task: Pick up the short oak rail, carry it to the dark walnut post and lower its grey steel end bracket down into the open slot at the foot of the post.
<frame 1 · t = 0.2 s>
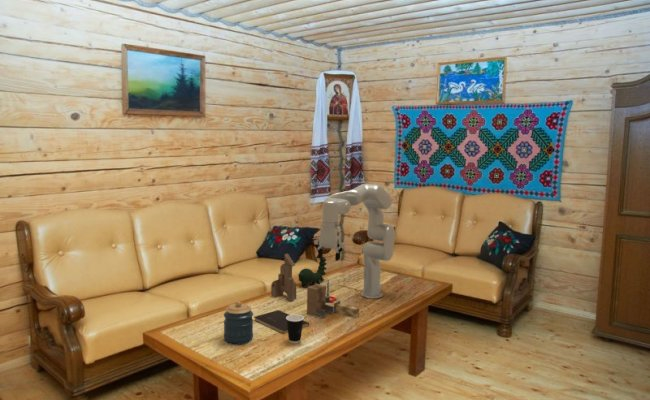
hand: (328, 258, 249), 30 cm above the table, tool pointing down, fingers open, 9 cm apart
hardcover book: (281, 324, 245), on the table
bed rail: (347, 314, 258), on the table
headboard post: (316, 312, 259), on the table
wooden toy: (284, 297, 283), on the table
tow hook: (328, 300, 281), on the table
canister: (238, 339, 224), on the table
toy figurine: (311, 285, 308), on the table
dixie cup: (294, 341, 223), on the table
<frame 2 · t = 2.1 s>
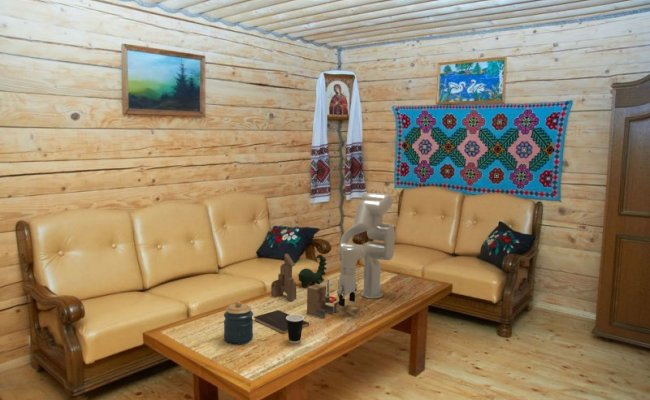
hand: (346, 303, 256), 6 cm above the table, tool pointing down, fingers open, 9 cm apart
nothing on the table moved.
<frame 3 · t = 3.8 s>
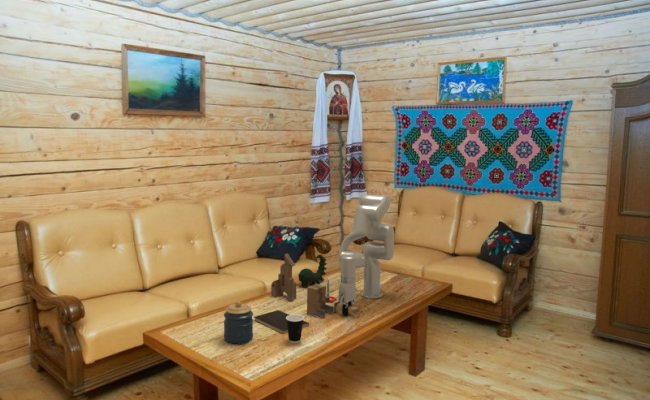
hand: (347, 313, 258), 0 cm above the table, tool pointing down, fingers closed on bed rail, 3 cm apart
bed rail: (347, 314, 258), on the table, touching gripper
everything else where it was.
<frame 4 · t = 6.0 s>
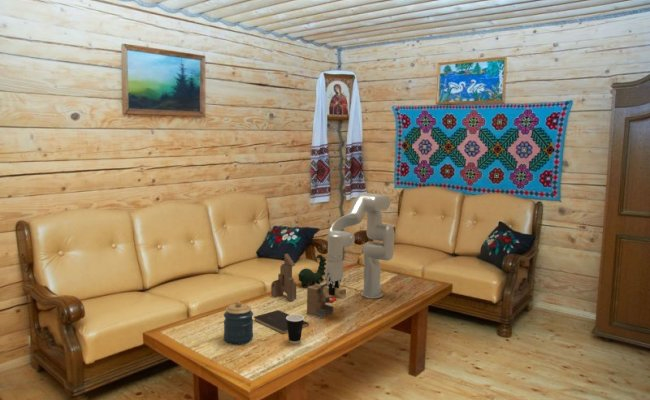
hand: (333, 293, 251), 13 cm above the table, tool pointing down, fingers closed on bed rail, 3 cm apart
bed rail: (334, 296, 251), point 11 cm above the table, touching gripper
everything else where it was.
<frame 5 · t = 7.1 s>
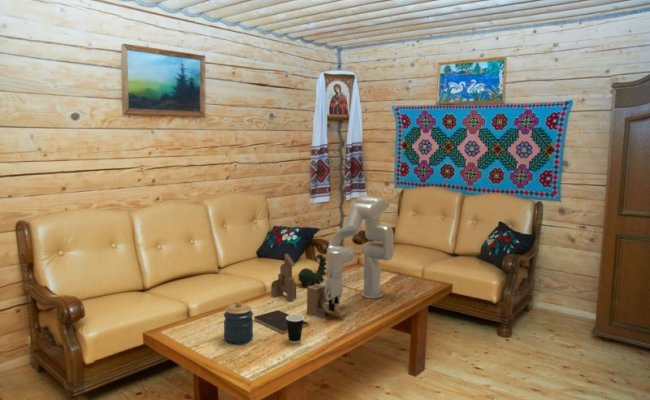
hand: (333, 309, 253), 4 cm above the table, tool pointing down, fingers closed on bed rail, 3 cm apart
bed rail: (334, 312, 253), point 3 cm above the table, touching gripper
everything else where it was.
when the fingers open (2 cm above the table, at t = 8.2 s): bed rail stays where it is, on the table.
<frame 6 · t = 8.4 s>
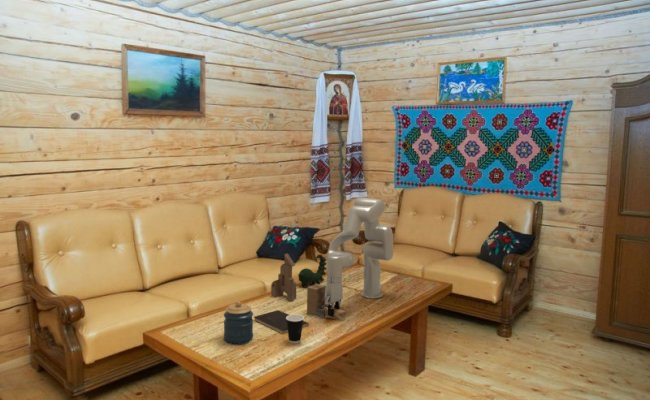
hand: (333, 313, 253), 2 cm above the table, tool pointing down, fingers open, 4 cm apart
bed rail: (334, 317, 253), on the table
everything else where it was.
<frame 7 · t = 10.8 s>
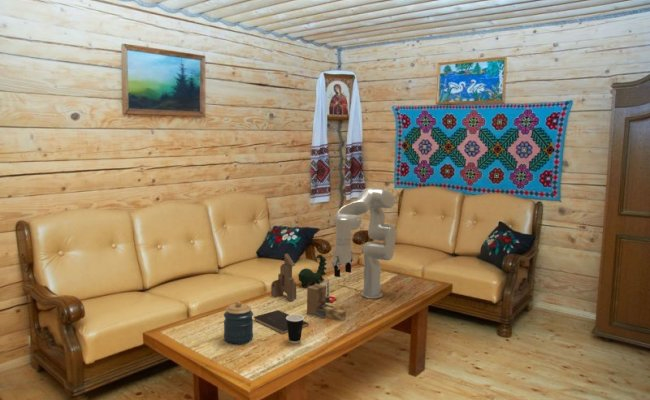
hand: (342, 274, 253), 22 cm above the table, tool pointing down, fingers open, 9 cm apart
nothing on the table moved.
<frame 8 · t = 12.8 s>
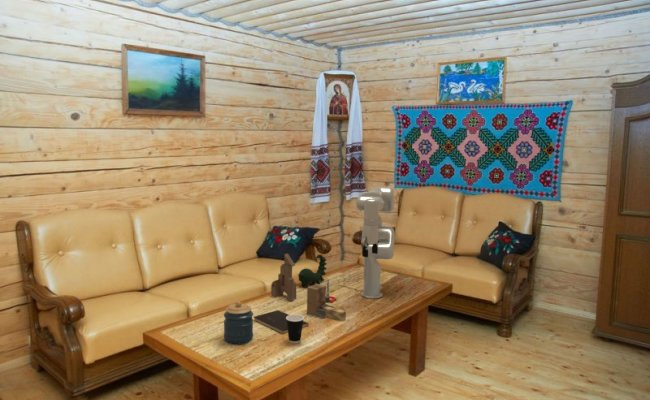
hand: (370, 255, 259), 30 cm above the table, tool pointing down, fingers open, 9 cm apart
nothing on the table moved.
at the end: bed rail 0.3 cm from the target spot on the table beside the headboard post, on the table; bed rail tilted 0°; the gripper is holding nothing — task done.
